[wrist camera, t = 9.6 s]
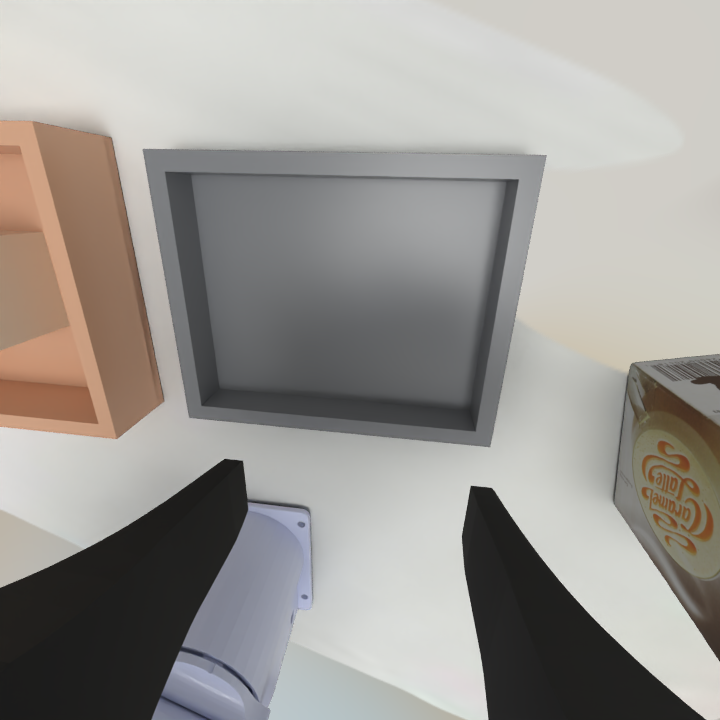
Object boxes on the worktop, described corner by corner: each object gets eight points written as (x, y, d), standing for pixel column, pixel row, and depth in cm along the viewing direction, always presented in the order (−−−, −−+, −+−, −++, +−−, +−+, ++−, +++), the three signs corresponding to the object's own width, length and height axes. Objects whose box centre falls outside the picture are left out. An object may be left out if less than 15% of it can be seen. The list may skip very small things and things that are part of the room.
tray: (481, 420, 21) (490, 447, 18) (212, 395, 22) (189, 417, 20) (527, 161, 16) (546, 155, 14) (178, 155, 18) (142, 149, 15)
